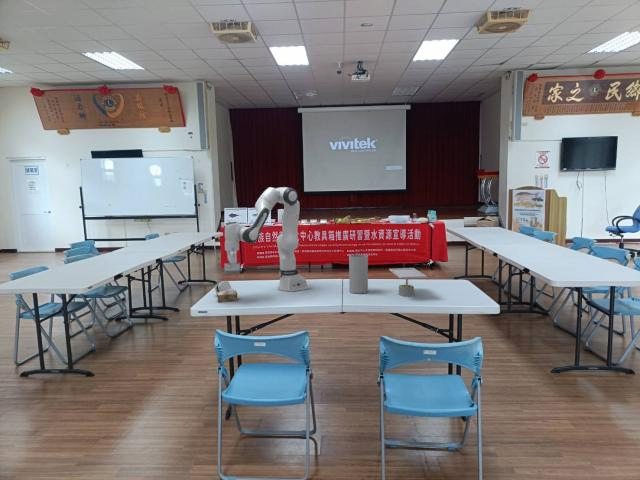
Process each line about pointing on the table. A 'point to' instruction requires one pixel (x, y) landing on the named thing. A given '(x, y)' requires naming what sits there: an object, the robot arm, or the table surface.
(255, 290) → the table surface
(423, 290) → the table surface
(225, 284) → the hinge
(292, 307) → the table surface
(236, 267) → the block
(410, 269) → the solar panel model
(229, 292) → the stand
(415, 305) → the table surface
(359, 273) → the cylinder vase
